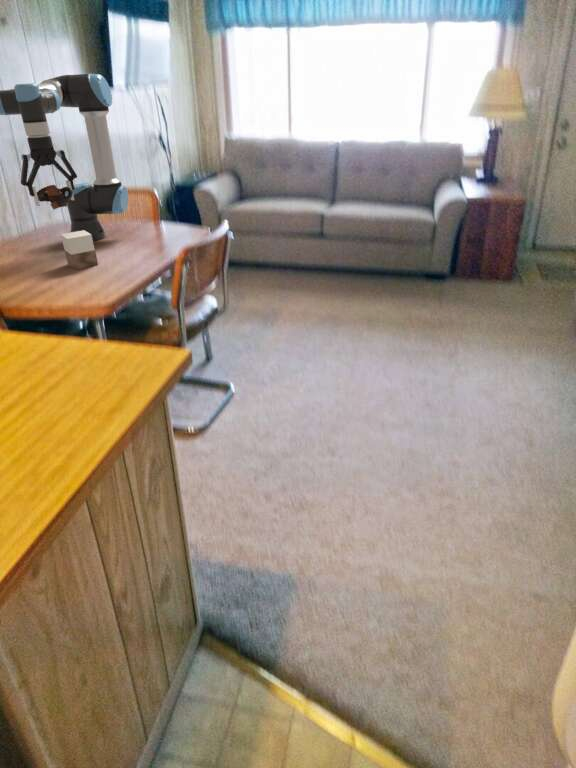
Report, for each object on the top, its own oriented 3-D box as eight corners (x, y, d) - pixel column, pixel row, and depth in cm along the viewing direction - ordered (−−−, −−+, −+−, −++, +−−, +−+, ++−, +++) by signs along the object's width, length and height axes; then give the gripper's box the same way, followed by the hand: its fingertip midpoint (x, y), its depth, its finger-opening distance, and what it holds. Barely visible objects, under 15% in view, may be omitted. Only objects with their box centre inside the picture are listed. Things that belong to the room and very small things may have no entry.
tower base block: (90, 260, 219) (87, 245, 216) (98, 265, 213) (95, 250, 210) (68, 264, 215) (64, 249, 212) (75, 270, 208) (71, 254, 205)
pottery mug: (45, 213, 188) (32, 190, 186) (47, 219, 197) (35, 198, 195) (78, 198, 191) (65, 176, 190) (78, 206, 200) (66, 184, 198)
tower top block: (87, 245, 216) (84, 230, 213) (94, 250, 210) (91, 234, 207) (64, 249, 212) (60, 234, 209) (71, 254, 205) (67, 238, 202)
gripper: (70, 131, 192) (84, 195, 203) (-2, 138, 180) (17, 206, 191) (77, 133, 186) (91, 198, 198) (3, 140, 175) (23, 210, 186)
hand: (55, 202), depth 194 cm, fingers closed on pottery mug, 11 cm apart
